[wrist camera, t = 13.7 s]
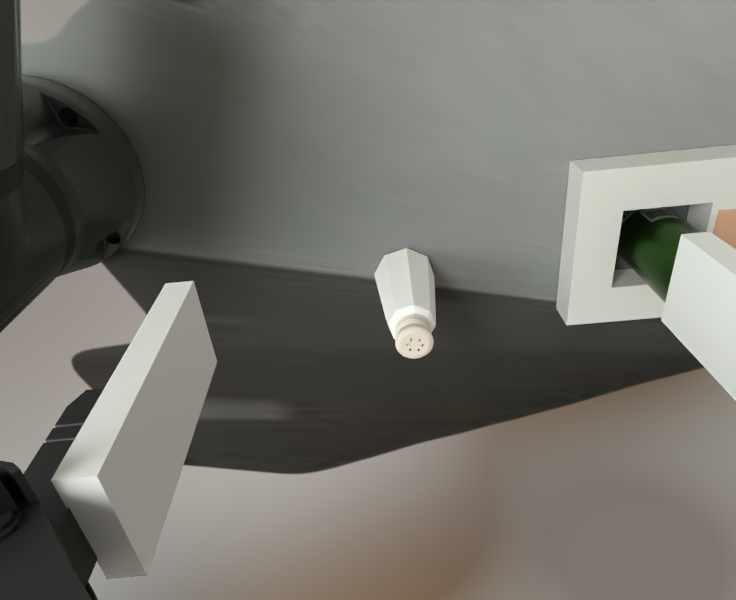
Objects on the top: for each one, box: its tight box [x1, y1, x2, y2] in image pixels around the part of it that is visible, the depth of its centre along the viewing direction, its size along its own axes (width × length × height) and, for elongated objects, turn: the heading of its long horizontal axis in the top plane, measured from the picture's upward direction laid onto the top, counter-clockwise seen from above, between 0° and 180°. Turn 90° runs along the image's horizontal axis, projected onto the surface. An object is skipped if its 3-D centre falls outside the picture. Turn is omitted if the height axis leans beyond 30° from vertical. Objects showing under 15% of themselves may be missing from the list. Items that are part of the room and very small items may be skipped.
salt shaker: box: [374, 248, 436, 359], centre depth 44 cm, size 5×5×11 cm
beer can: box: [617, 207, 700, 302], centre depth 42 cm, size 5×5×12 cm
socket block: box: [556, 145, 736, 325], centre depth 45 cm, size 14×14×3 cm
